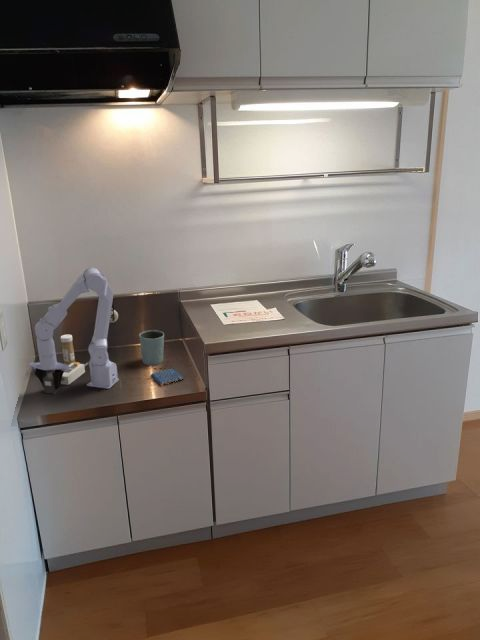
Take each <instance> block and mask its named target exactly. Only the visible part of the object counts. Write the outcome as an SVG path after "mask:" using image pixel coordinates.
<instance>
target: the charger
mask: <svg viewBox="0 0 480 640" xmlns="http://www.w3.org/2000/svg"><path fill="white" fill-rule="evenodd" d="M52 373H53V372H51V373H50V372H49V373H47V375H46V376H45V377H44V378H43V384H44V388H43V389H44V393H45V394H54V395H55V394H56V393H57V392H59V391H60V390H61V389H62V386H61V387H60V388H59V389H56V386H55V380H54V377H53V375H52Z"/></svg>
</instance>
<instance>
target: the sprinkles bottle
mask: <svg viewBox="0 0 480 640" xmlns="http://www.w3.org/2000/svg"><path fill="white" fill-rule="evenodd" d="M60 342H61V349H62V350H61V351H62V360H63V364H67V365H70V364H71V363H75V362H76V358H75V351H74V343H73V335H72V334H63V335H61V336H60Z"/></svg>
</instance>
